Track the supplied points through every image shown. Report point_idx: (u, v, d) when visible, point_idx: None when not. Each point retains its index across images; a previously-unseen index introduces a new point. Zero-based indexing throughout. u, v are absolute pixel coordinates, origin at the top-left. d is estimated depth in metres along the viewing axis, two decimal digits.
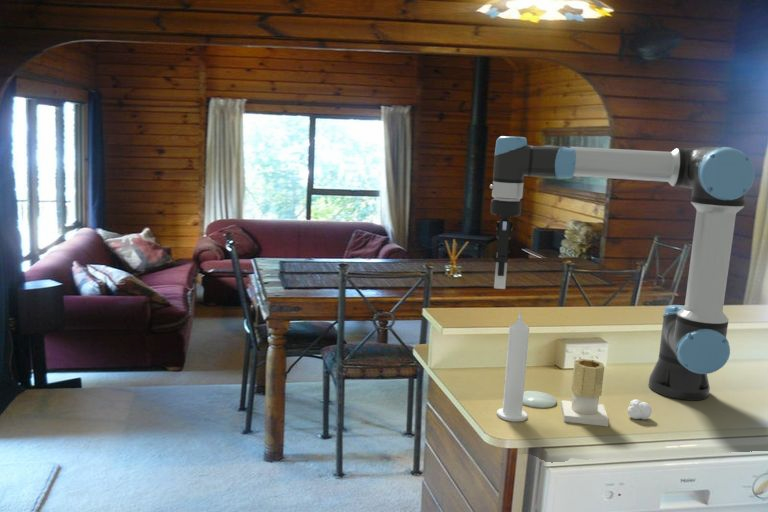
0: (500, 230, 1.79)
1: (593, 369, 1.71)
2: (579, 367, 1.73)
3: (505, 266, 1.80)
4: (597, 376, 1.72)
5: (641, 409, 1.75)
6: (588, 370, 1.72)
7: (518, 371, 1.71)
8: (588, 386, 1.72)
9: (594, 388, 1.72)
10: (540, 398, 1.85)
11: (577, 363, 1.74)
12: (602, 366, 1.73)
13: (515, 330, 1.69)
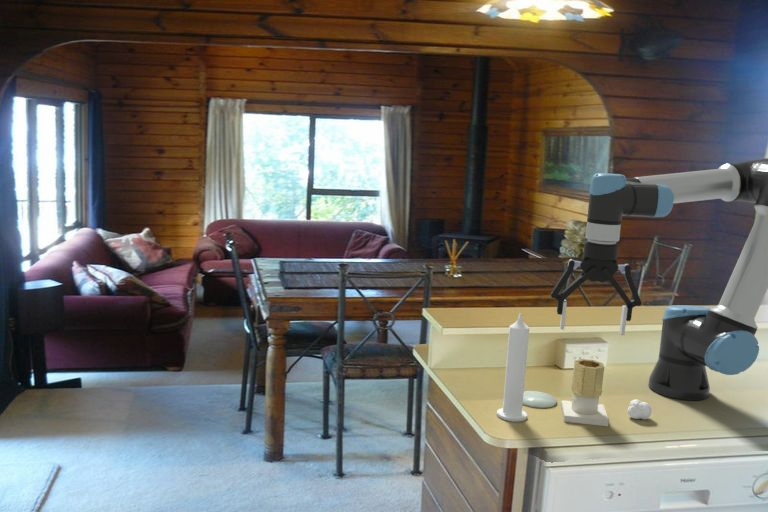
0: None
1: (593, 369, 1.71)
2: (579, 367, 1.73)
3: (563, 305, 1.72)
4: (597, 376, 1.72)
5: (641, 409, 1.75)
6: (588, 370, 1.72)
7: (518, 371, 1.71)
8: (588, 386, 1.72)
9: (594, 388, 1.72)
10: (540, 398, 1.85)
11: (577, 363, 1.74)
12: (602, 366, 1.73)
13: (515, 330, 1.69)
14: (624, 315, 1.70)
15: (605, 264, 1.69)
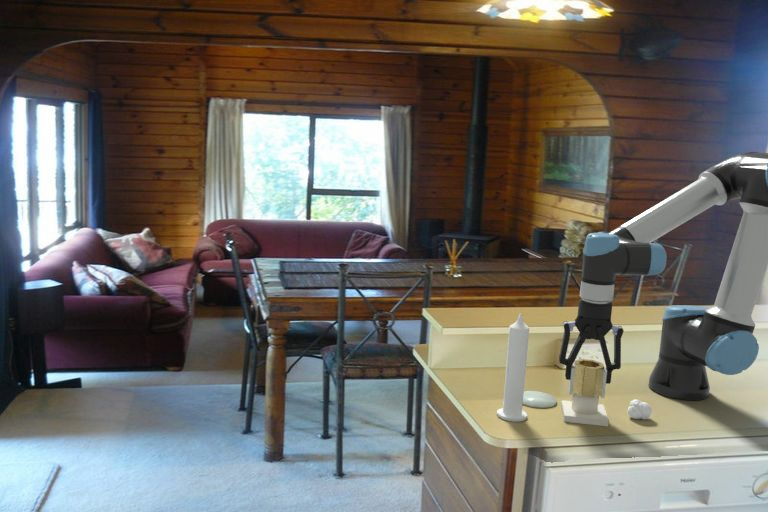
0: (564, 330, 1.75)
1: (593, 369, 1.71)
2: (579, 367, 1.73)
3: (571, 371, 1.75)
4: (597, 376, 1.72)
5: (641, 409, 1.75)
6: (588, 370, 1.72)
7: (518, 371, 1.71)
8: (588, 386, 1.72)
9: (594, 388, 1.72)
10: (540, 398, 1.85)
11: (577, 363, 1.74)
12: (602, 366, 1.73)
13: (515, 330, 1.69)
14: (604, 378, 1.73)
15: (601, 320, 1.71)
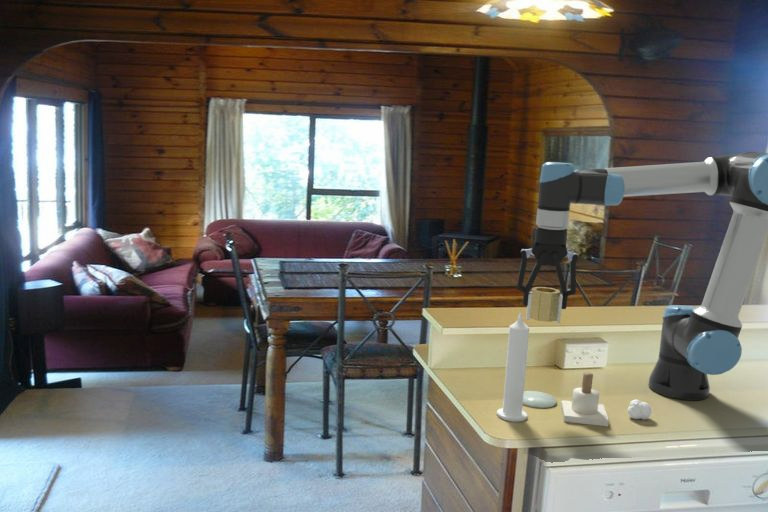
0: None
1: (549, 294, 1.77)
2: (535, 292, 1.79)
3: (528, 297, 1.80)
4: (552, 301, 1.78)
5: (640, 409, 1.75)
6: (544, 295, 1.77)
7: (518, 371, 1.71)
8: (544, 311, 1.78)
9: (550, 313, 1.78)
10: (540, 398, 1.85)
11: (534, 289, 1.80)
12: (558, 292, 1.79)
13: (515, 330, 1.69)
14: (559, 303, 1.79)
15: (557, 246, 1.77)
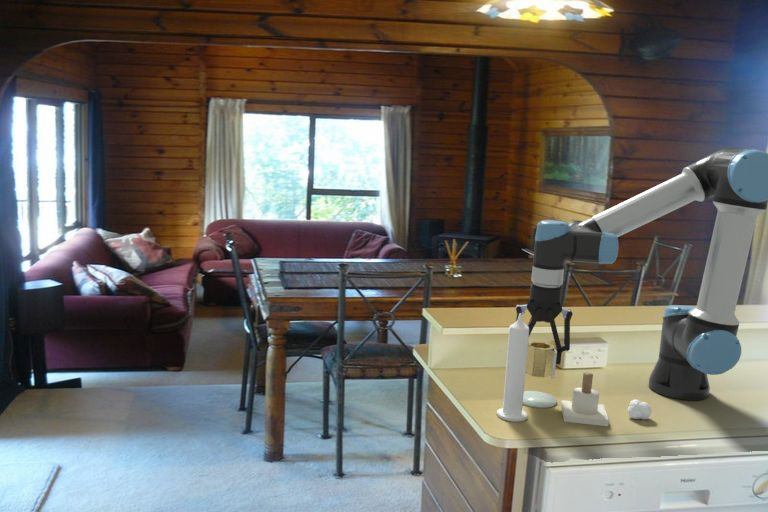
0: None
1: (543, 350, 1.80)
2: (530, 348, 1.81)
3: None
4: (547, 357, 1.80)
5: (640, 409, 1.75)
6: (538, 351, 1.80)
7: (518, 371, 1.71)
8: (538, 366, 1.81)
9: (544, 368, 1.80)
10: (540, 398, 1.85)
11: (529, 345, 1.83)
12: (552, 347, 1.81)
13: (515, 330, 1.69)
14: (554, 359, 1.82)
15: (551, 303, 1.80)
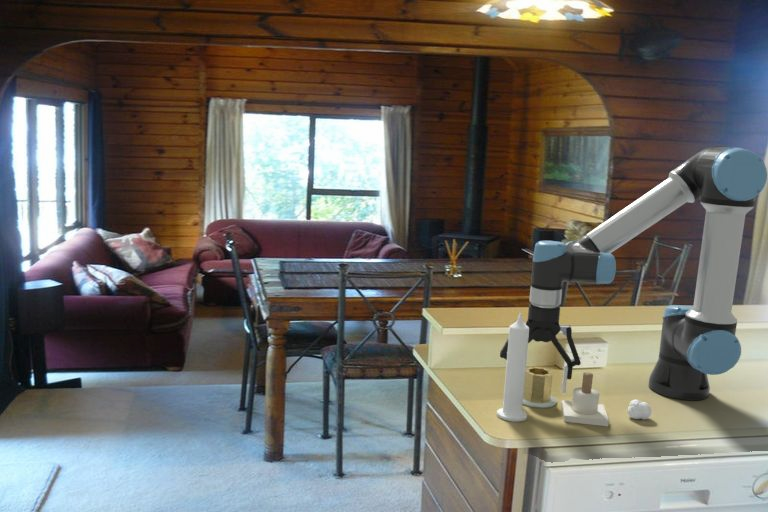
0: None
1: (541, 377, 1.81)
2: (529, 375, 1.82)
3: None
4: (545, 383, 1.81)
5: (640, 409, 1.75)
6: (537, 377, 1.81)
7: (518, 371, 1.71)
8: (537, 393, 1.82)
9: (543, 395, 1.82)
10: None
11: (527, 371, 1.84)
12: (550, 374, 1.83)
13: (515, 330, 1.69)
14: (565, 374, 1.82)
15: (548, 325, 1.81)
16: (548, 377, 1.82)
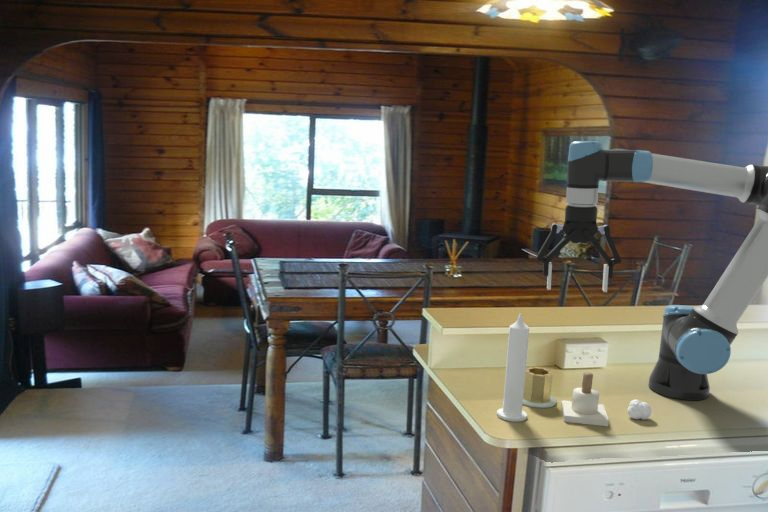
0: (550, 231, 1.84)
1: (541, 377, 1.81)
2: (529, 375, 1.82)
3: (548, 267, 1.84)
4: (545, 383, 1.81)
5: (640, 409, 1.75)
6: (537, 377, 1.81)
7: (518, 371, 1.71)
8: (537, 393, 1.82)
9: (543, 395, 1.82)
10: None
11: (527, 371, 1.84)
12: (550, 374, 1.83)
13: (515, 330, 1.69)
14: (606, 273, 1.82)
15: (586, 226, 1.81)
16: (548, 377, 1.82)
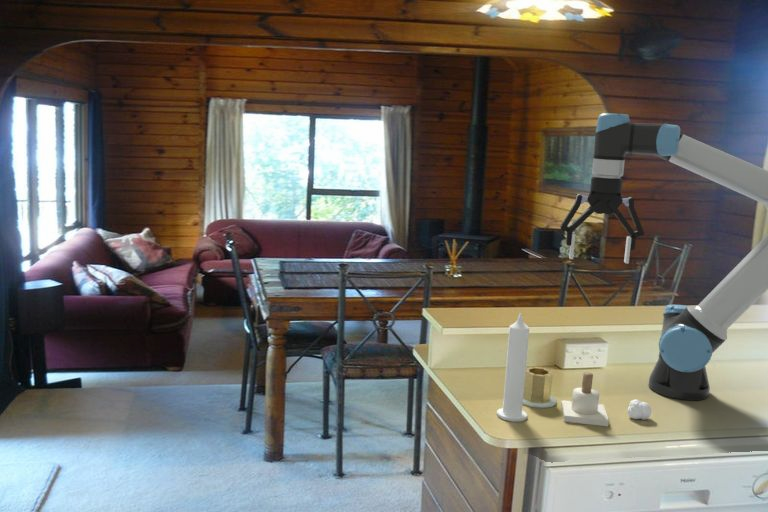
0: (575, 202, 1.87)
1: (541, 377, 1.81)
2: (529, 375, 1.82)
3: (571, 237, 1.87)
4: (545, 383, 1.81)
5: (640, 409, 1.75)
6: (537, 377, 1.81)
7: (518, 371, 1.71)
8: (537, 393, 1.82)
9: (543, 395, 1.82)
10: None
11: (527, 371, 1.84)
12: (550, 374, 1.83)
13: (515, 330, 1.69)
14: (628, 244, 1.85)
15: (610, 197, 1.84)
16: (548, 377, 1.82)
